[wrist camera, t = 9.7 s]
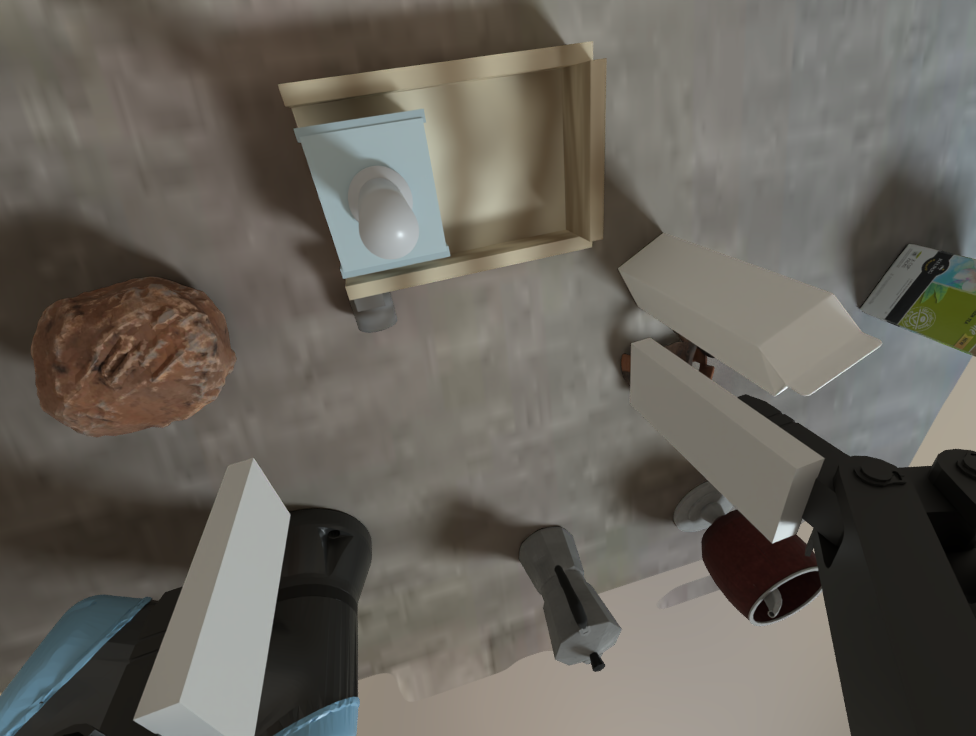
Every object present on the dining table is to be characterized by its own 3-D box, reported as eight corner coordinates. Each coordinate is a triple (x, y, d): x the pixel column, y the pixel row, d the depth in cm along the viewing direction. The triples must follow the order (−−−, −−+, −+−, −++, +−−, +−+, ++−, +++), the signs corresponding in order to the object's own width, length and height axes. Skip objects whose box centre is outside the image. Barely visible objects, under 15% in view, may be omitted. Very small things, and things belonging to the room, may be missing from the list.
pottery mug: (614, 332, 49) (683, 338, 43) (655, 314, 55) (722, 317, 49) (620, 424, 53) (685, 441, 47) (658, 398, 58) (720, 410, 52)
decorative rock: (138, 406, 38) (77, 485, 30) (31, 300, 32) (-83, 361, 24) (274, 354, 39) (252, 416, 31) (196, 241, 33) (141, 280, 25)
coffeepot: (578, 556, 70) (638, 674, 55) (526, 578, 69) (573, 704, 54) (563, 499, 61) (629, 621, 46) (504, 524, 61) (552, 656, 46)
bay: (358, 320, 40) (358, 348, 35) (282, 89, 30) (267, 82, 25) (573, 270, 43) (602, 290, 38) (569, 49, 33) (606, 36, 28)
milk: (616, 268, 44) (796, 369, 26) (663, 231, 44) (883, 308, 25) (638, 307, 48) (811, 423, 29) (682, 274, 47) (888, 370, 29)
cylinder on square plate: (345, 261, 36) (337, 335, 23) (302, 127, 30) (262, 131, 18) (440, 241, 37) (482, 302, 24) (415, 110, 32) (452, 102, 19)
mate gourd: (754, 482, 73) (872, 588, 56) (704, 536, 78) (799, 649, 61) (699, 465, 66) (813, 581, 49) (647, 526, 71) (736, 649, 54)
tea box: (854, 312, 58) (989, 363, 45) (906, 241, 54) (1069, 276, 41) (912, 331, 63) (1046, 381, 51) (963, 268, 59) (1122, 306, 47)
